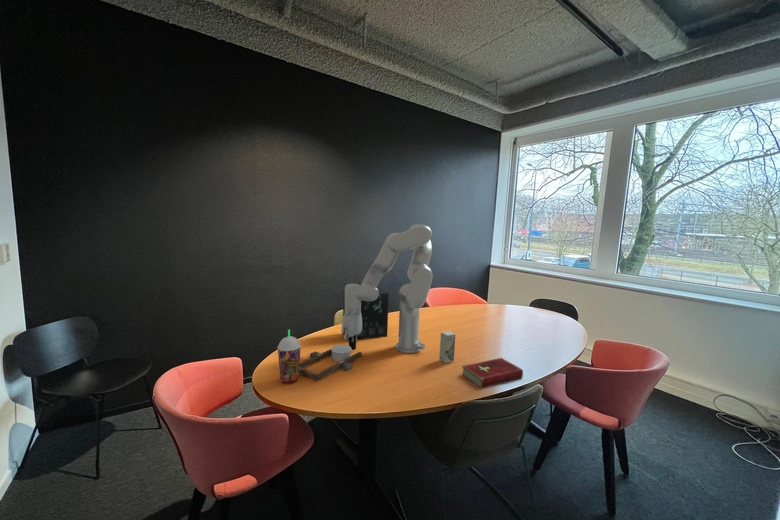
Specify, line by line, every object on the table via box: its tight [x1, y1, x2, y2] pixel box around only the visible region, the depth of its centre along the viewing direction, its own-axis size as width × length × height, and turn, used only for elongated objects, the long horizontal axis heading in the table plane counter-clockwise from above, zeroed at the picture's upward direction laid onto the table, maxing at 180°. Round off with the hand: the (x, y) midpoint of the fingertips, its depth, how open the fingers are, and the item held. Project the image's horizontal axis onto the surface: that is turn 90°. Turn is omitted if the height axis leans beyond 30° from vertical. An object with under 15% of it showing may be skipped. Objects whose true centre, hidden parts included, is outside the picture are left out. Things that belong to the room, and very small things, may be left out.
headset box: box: [342, 288, 390, 340], centre depth 171 cm, size 22×12×26 cm, turn 111°
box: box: [438, 330, 456, 364], centre depth 142 cm, size 5×4×13 cm
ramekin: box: [330, 344, 352, 362], centre depth 144 cm, size 9×9×4 cm
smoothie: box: [277, 329, 302, 384], centre depth 121 cm, size 8×8×20 cm
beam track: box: [299, 348, 363, 382], centre depth 137 cm, size 22×28×2 cm
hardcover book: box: [461, 357, 524, 389], centre depth 130 cm, size 12×21×4 cm, turn 115°
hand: (352, 348), depth 150 cm, fingers closed
